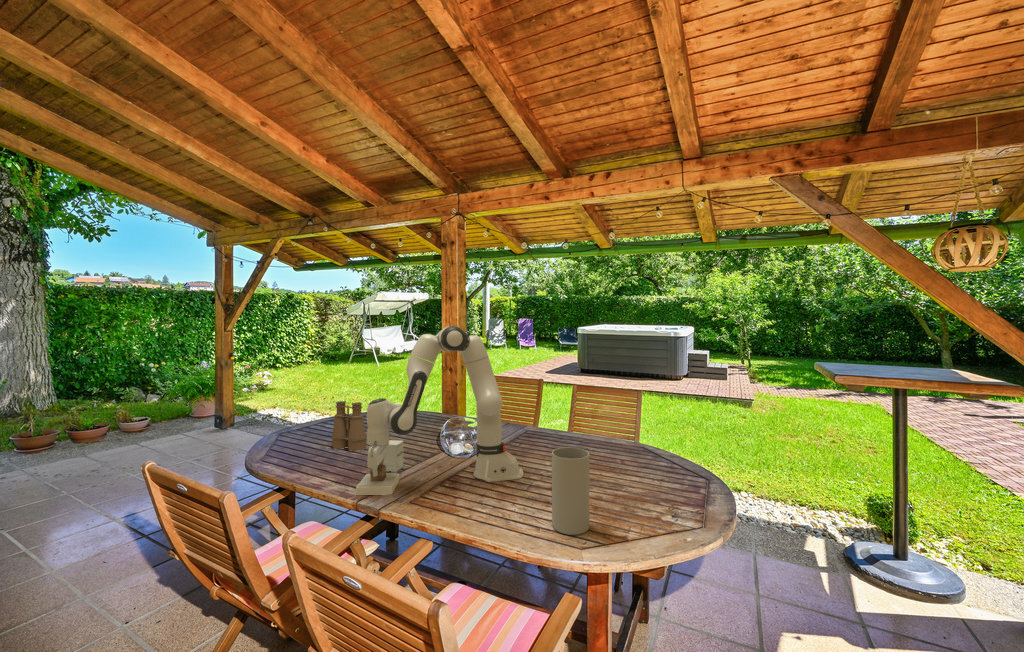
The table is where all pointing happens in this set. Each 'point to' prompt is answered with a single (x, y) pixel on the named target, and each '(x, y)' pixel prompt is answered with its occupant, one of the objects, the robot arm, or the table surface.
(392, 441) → the supplement box
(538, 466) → the table surface
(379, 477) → the walnut block
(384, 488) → the plinth
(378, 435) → the robot arm
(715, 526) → the table surface
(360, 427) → the binoculars
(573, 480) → the cylinder vase
